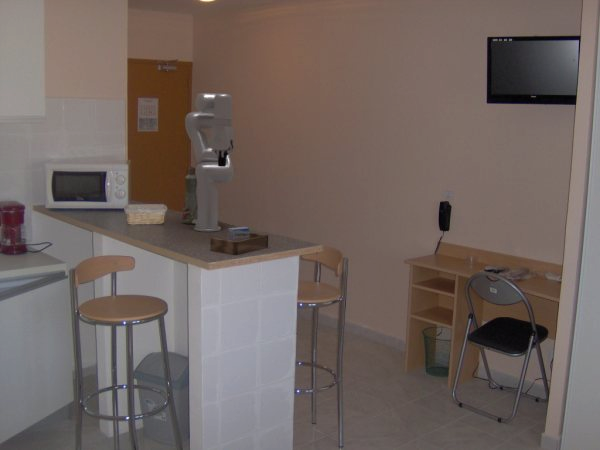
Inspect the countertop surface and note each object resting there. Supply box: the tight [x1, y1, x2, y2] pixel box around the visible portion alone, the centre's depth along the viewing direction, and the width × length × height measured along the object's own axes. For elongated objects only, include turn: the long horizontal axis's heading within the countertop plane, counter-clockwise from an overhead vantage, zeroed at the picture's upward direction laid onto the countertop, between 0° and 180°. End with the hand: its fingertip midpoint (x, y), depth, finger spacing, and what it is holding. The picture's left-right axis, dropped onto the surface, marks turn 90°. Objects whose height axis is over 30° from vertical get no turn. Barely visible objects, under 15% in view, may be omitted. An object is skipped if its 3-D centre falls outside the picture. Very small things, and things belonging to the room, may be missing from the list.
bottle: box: [180, 166, 198, 225], centre depth 349 cm, size 9×9×28 cm
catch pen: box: [209, 231, 269, 256], centre depth 294 cm, size 13×21×5 cm, turn 146°
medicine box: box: [227, 226, 250, 242], centre depth 294 cm, size 8×4×9 cm, turn 126°
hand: (221, 166), depth 308 cm, fingers closed
